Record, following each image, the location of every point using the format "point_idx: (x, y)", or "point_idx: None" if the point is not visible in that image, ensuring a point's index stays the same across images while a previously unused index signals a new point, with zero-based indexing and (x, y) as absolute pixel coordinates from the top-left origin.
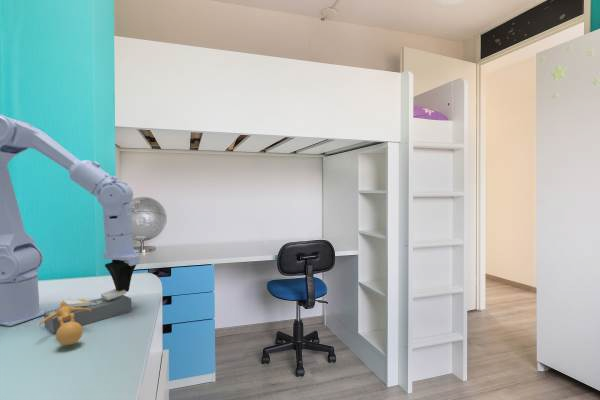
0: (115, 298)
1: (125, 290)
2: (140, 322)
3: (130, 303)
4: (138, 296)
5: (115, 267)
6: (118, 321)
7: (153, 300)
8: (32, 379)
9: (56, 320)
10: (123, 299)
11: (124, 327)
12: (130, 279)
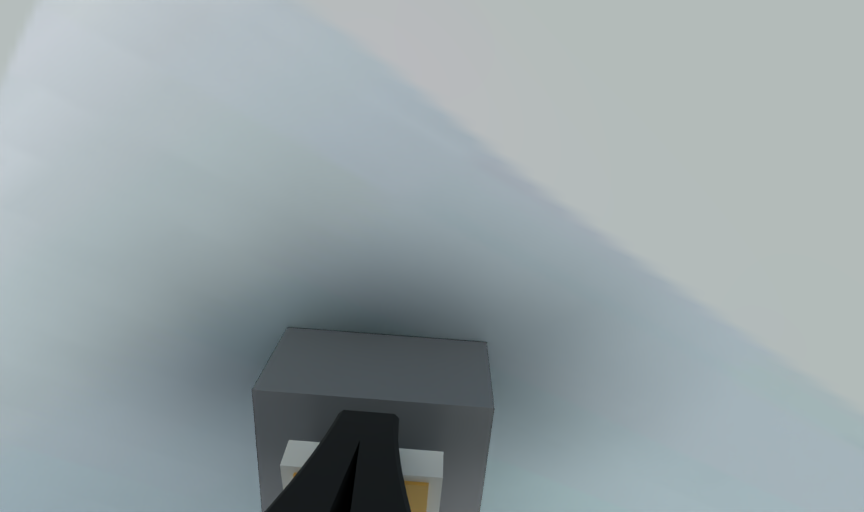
0: None
1: (437, 477)
2: (741, 409)
3: (490, 385)
4: (142, 117)
5: None
6: (585, 463)
7: (389, 101)
8: None
9: None
10: (464, 450)
11: (710, 486)
12: (407, 506)
